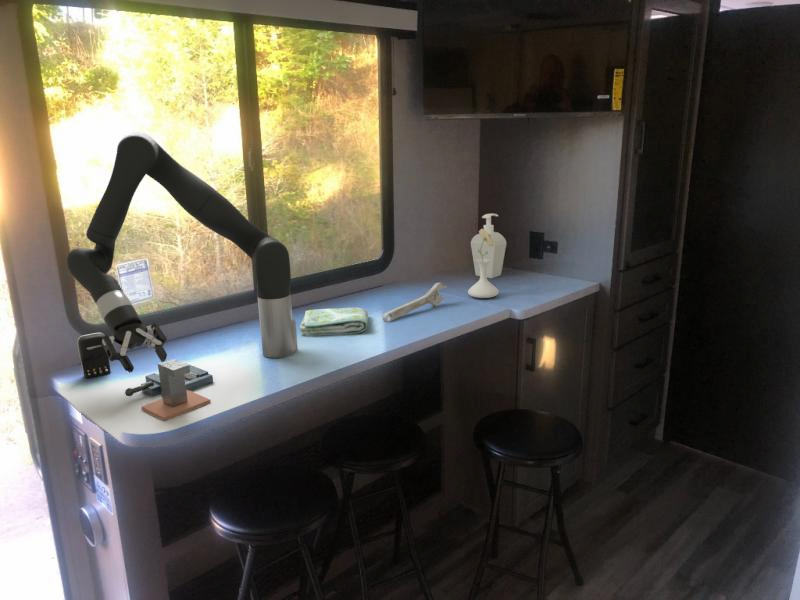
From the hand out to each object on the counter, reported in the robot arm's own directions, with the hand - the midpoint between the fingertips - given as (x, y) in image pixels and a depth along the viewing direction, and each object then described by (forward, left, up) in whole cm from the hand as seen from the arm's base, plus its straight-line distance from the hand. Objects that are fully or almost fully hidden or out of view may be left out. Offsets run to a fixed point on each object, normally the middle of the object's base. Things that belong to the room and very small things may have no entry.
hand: (148, 365), depth 154 cm
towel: (-65, -2, -8) cm, 65 cm away
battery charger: (+2, -24, -8) cm, 26 cm away
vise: (-4, 0, -8) cm, 9 cm away
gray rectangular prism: (0, +12, -7) cm, 14 cm away
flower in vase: (-123, +18, -8) cm, 124 cm away
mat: (0, +11, -8) cm, 14 cm away
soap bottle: (-153, +2, -8) cm, 153 cm away
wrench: (-92, +10, -8) cm, 93 cm away
